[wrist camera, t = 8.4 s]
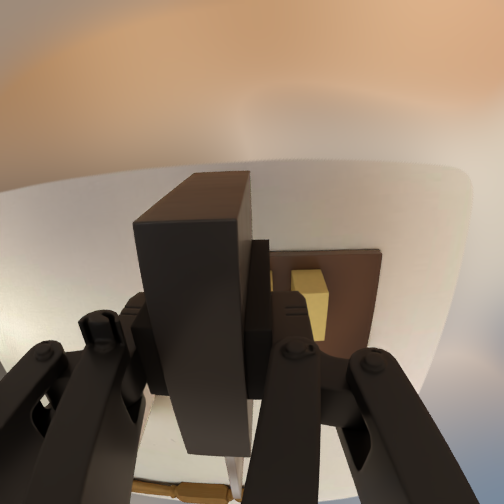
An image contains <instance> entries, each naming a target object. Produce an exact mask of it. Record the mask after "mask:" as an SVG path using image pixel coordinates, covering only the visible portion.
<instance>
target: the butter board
mask: <svg viewBox="0 0 504 504" xmlns="http://www.w3.org/2000/svg"><path fill="white" fill-rule="evenodd" d="M381 260H382V253H381V252H380V250H338V251H292V252H270V270H271V271H272V280H273V291H291V271H292V270H315V269H320V270H321V272H322V274H323V277H324V280H325V283H326V286H327V289H328V292H329V300H328V311H327V321H326V330H325V339H324V341H314V342H315V343H316V344H317V345H318V346H319V349H320V350H321V351H323V352H324V353H326V354H328V355H330V356H334V357H339V358H345V359H350V357H351V355H352V354H353V353H354V352H356V351H357V350H360V349H363V348H367V344H368V339H369V334H370V329H371V323H372V318H373V312H374V307H375V301H376V295H377V288H378V282H379V275H380V268H381Z"/></svg>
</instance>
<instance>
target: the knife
mask: <svg viewBox="0 0 504 504" xmlns="http://www.w3.org/2000/svg"><path fill="white" fill-rule="evenodd" d="M133 230H134V237H135V243H136V250H137V256H138V261H139V267H140V273H141V278H142V283H143V288H144V293H145V298H146V303H147V308H148V313H149V317H150V322H151V326H152V331H153V335H154V339H155V343H156V347H157V351H158V355H159V359H160V363H161V367H162V371H163V375H164V378H165V382H166V386H167V389H168V393H169V396H170V400H171V403H172V406H173V410H174V413H175V416H176V419H177V423H178V426H179V429H180V432H181V435H182V438H183V441H184V444H185V447H186V450H187V453H188V454H195V455H207V456H224V457H225V460H226V466H227V471H228V476H229V481H230V486H231V491H232V495H233V498H234V499H241V492H242V476H243V461H244V457H251V441H252V419H253V400H250V399H248V396H247V379H246V362H245V344H244V323H245V312H246V301H247V290H248V280H249V269H250V258H251V247H252V210H251V178H250V171H225V172H202V173H194V174H192V175H191V176H190V177H188V178H187V179H186V180H184V181H183V182H182V183H181V184H179V185H178V186H177V187H176V188H174V189H173V190H172V191H171V192H169V193H168V194H167V195H166V196H164V197H163V198H162V199H161V200H159V201H158V202H157V203H156V204H154V205H153V206H152V207H151V208H150V209H148V210H147V211H146V212H145V213H144V214H142V215H141V216H140V217H139V218H138V219H136V220H135V221H134V222H133Z"/></svg>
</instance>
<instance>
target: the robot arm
mask: <svg viewBox="0 0 504 504" xmlns="http://www.w3.org/2000/svg"><path fill="white" fill-rule="evenodd" d="M78 324H79V327H80V330H81V332H82V335H83V338H84V341H85V343H86V346H85V348H84V350H81V351H73V352H65V351H64V349H63V347H62V345H61V343H59V342H57V341H53V340H48V341H42V342H41V343H38V344H36V345H35V346H34V347H32V348H31V349H30V350H29V351H28V352H27V353H26V354H25V355H24V356H23V357H22V358H21V359H20V360H19V361H18V363H17V364H16V365H15V366H14V367H13V368H12V369H11V370H10V371H9V372H8V373H7V374H6V375H5V376H4V378H3V379H2V380H1V381H0V504H130V497H131V490H132V483H133V476H134V470H135V464H136V457H137V451H138V445H139V440H140V434H141V429H142V423H143V418H144V412H145V407H146V399H145V396H144V394H143V391H144V389H145V386H146V383H147V385H148V388H149V390H150V393H151V394H154V395H165V396H169V393H168V389H167V386H166V382H165V378H164V375H163V371H162V367H161V363H160V359H159V355H158V351H157V347H156V343H155V339H154V335H153V331H152V326H151V322H150V317H149V313H148V308H147V303H146V298H145V293H144V292H139V293H137V294H136V295H134V296H133V297H132V298H130V299H129V301H128V302H127V304H126V305H125V308H123V310H122V311H121V313H120V315H119V316H118V314H117V313H116V312H114V311H111V310H98V311H94V312H91V313H88V314H87V315H85V316H83V317H82V318H81V319H80V320H79V321H78ZM244 344H245V362H246V379H247V396H248V399H250V400H261V399H262V402H261V407H260V412H259V418H258V423H257V428H256V433H255V438H254V443H253V448H252V453H251V458H250V463H249V468H248V473H247V478H246V482H245V487H244V492H243V497H242V501H241V504H318V489H319V467H320V432H321V424H324V425H329V426H334V427H336V430H337V433H338V436H339V439H340V442H341V445H342V447H343V450H344V453H345V456H346V459H347V462H348V465H349V468H350V471H351V474H352V477H353V480H354V483H355V486H356V489H357V492H358V495H359V499H360V501H361V504H479V502H478V500H477V498H476V496H475V494H474V492H473V490H472V489H471V487H470V484H469V483H468V481H467V479H466V477H465V475H464V473H463V472H462V470H461V468H460V466H459V464H458V462H457V461H456V459H455V457H454V455H453V453H452V452H451V450H450V448H449V446H448V444H447V443H446V441H445V439H444V437H443V436H442V434H441V433H440V431H439V429H438V427H437V425H436V424H435V422H434V421H433V419H432V417H431V415H430V414H429V412H428V411H427V409H426V407H425V405H424V404H423V402H422V400H421V399H420V397H419V395H418V394H417V392H416V391H415V389H414V387H413V386H412V384H411V382H410V381H409V379H408V378H407V376H406V375H405V373H404V371H403V370H402V368H401V367H400V365H399V363H398V362H397V360H396V359H395V358H394V357H393V356H392V355H391V354H390V353H389V352H387V351H385V350H383V349H378V348H363V349H360V350H357V351H356V352H354V353H353V354H352V355H351V357H350V359H345V358H339V357H334V356H330V355H328V354H326V353H324V352H323V351H321V350H320V349H319V346H318V345H317V344H316V343H315V342H314V338H313V333H312V328H311V323H310V318H309V313H308V308H307V303H306V299H305V297H304V296H303V295H302V294H301V293H300V292H299V291H271V278H270V252H269V240H252V247H251V258H250V269H249V280H248V290H247V301H246V312H245V323H244ZM44 395H46V397H47V399H48V400H49V402H50V403H49V404H48V405H47V406H46V407H44V406H43V405H42V403H41V401H40V400H41V398H42V397H43V396H44Z"/></svg>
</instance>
